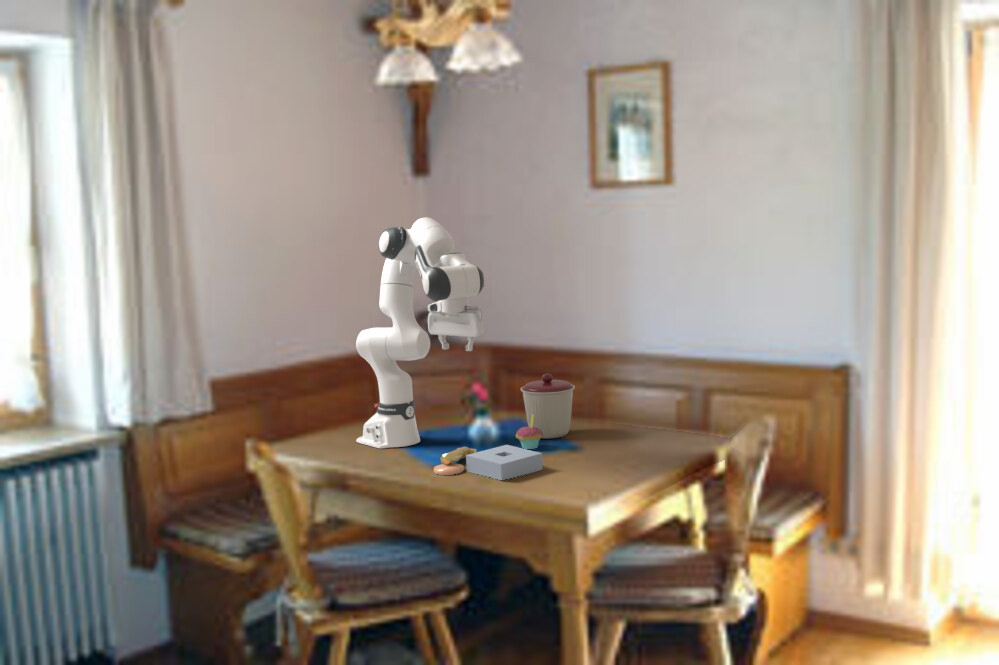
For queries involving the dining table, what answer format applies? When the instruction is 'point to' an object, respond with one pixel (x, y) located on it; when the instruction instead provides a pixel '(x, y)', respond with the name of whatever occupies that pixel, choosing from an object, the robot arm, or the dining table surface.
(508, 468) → the grey square socket block
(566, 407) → the canister
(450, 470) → the pink flat disc
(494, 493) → the dining table surface
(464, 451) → the key
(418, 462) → the dining table surface
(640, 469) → the dining table surface
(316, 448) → the dining table surface
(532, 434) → the cupcake
